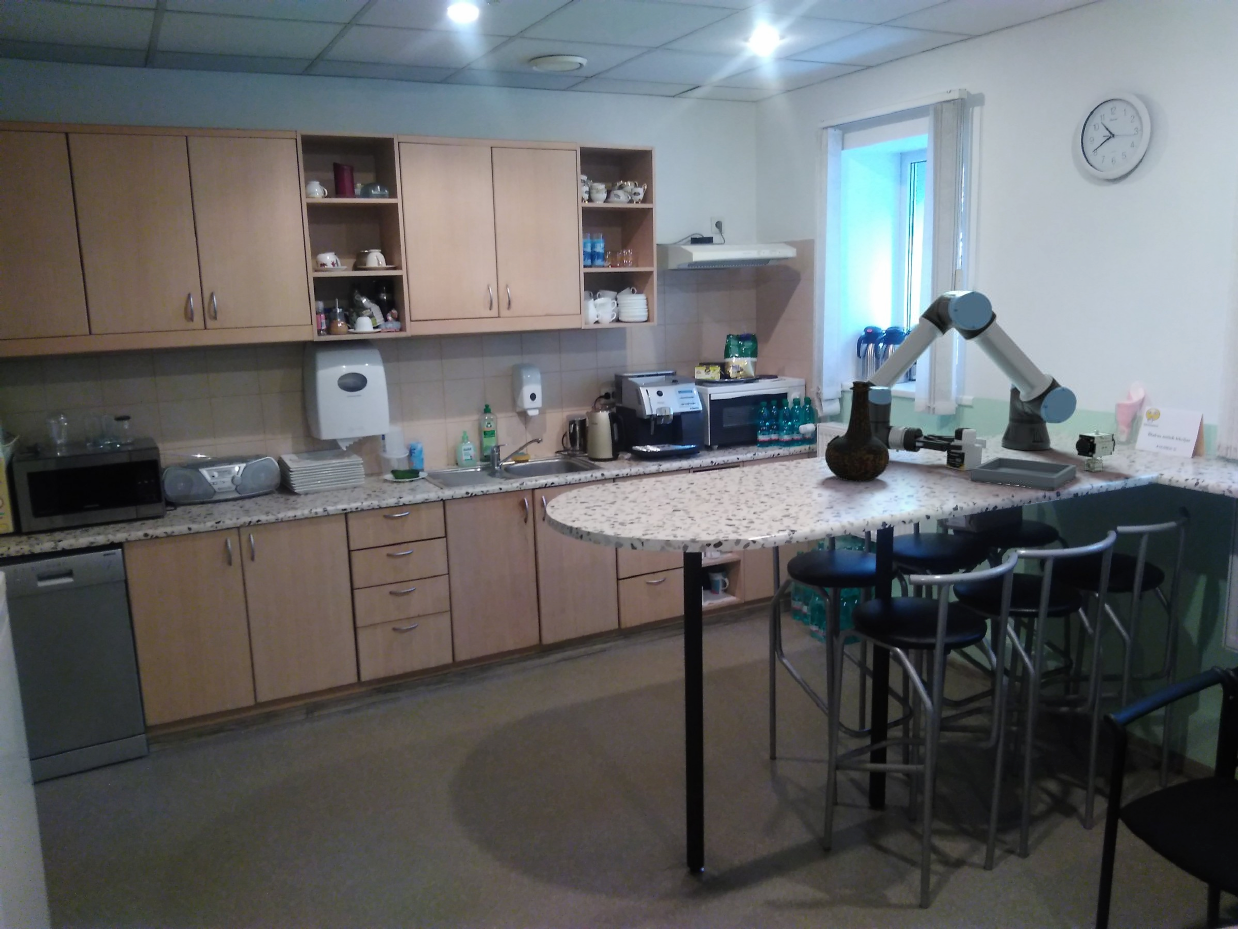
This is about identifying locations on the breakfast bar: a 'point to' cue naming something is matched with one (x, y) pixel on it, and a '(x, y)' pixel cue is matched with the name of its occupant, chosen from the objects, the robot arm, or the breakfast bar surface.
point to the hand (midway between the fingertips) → (980, 446)
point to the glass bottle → (857, 443)
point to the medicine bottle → (965, 459)
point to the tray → (1024, 473)
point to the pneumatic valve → (1095, 448)
